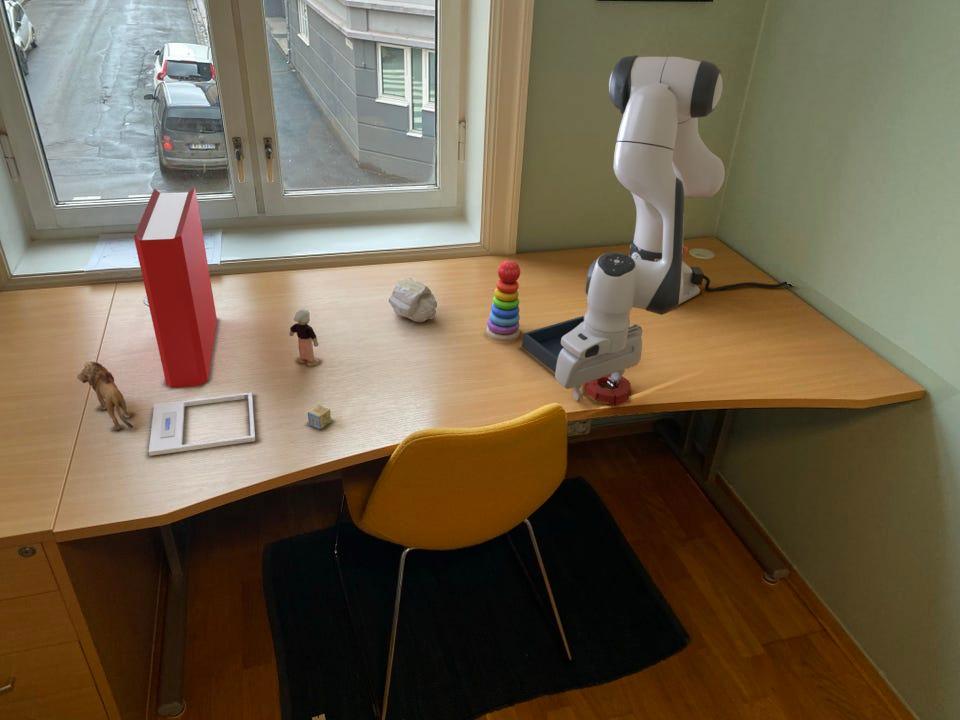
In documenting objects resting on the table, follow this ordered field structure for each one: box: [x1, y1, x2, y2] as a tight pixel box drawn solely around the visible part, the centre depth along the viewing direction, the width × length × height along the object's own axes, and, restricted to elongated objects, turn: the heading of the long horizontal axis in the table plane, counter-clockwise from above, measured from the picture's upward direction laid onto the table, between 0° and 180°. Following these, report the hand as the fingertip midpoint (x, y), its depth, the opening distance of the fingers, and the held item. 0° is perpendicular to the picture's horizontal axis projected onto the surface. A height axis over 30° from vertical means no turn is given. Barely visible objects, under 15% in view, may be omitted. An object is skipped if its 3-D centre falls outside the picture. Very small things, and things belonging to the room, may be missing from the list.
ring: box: [584, 374, 631, 407], centre depth 152 cm, size 9×9×2 cm
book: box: [133, 187, 218, 389], centre depth 149 cm, size 27×8×32 cm, turn 13°
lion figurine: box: [76, 360, 134, 431], centre depth 136 cm, size 15×5×9 cm, turn 50°
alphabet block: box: [307, 404, 332, 430], centre depth 138 cm, size 3×3×3 cm
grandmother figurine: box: [288, 307, 320, 367], centre depth 154 cm, size 8×4×13 cm, turn 71°
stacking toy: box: [485, 260, 521, 342], centre depth 166 cm, size 8×8×19 cm
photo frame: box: [148, 391, 256, 457], centre depth 137 cm, size 15×1×18 cm
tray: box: [521, 315, 585, 374], centre depth 164 cm, size 18×14×4 cm
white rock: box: [388, 277, 438, 323], centre depth 174 cm, size 12×8×10 cm
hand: (595, 392), depth 151 cm, fingers open, 8 cm apart
